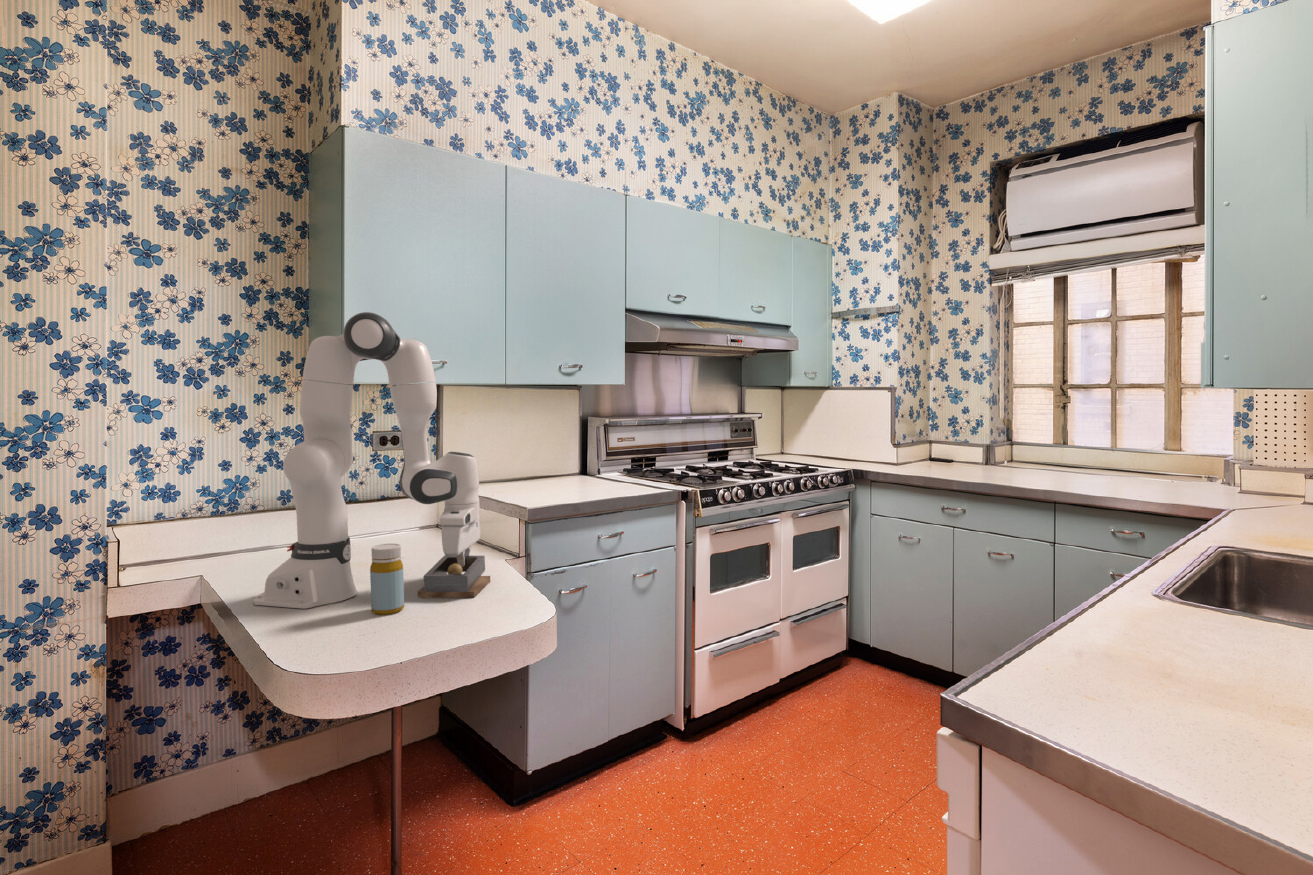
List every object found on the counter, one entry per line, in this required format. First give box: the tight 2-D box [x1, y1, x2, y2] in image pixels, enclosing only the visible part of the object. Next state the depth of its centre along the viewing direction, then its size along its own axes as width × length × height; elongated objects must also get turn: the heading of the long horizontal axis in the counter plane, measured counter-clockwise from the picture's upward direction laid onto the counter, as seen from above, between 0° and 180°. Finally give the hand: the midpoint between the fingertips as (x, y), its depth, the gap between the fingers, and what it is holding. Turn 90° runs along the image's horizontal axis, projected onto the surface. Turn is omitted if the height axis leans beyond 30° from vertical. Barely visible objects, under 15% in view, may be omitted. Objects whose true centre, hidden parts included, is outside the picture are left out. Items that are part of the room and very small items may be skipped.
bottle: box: [369, 543, 405, 616], centre depth 150 cm, size 7×7×15 cm
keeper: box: [417, 563, 491, 599], centre depth 167 cm, size 14×14×7 cm
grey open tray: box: [423, 555, 486, 592], centre depth 167 cm, size 11×15×4 cm
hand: (463, 564), depth 174 cm, fingers closed on grey open tray, 2 cm apart
